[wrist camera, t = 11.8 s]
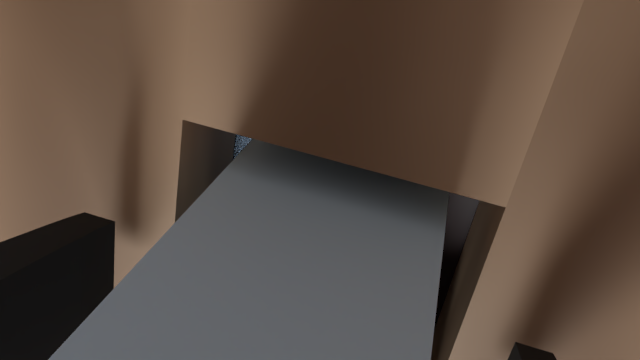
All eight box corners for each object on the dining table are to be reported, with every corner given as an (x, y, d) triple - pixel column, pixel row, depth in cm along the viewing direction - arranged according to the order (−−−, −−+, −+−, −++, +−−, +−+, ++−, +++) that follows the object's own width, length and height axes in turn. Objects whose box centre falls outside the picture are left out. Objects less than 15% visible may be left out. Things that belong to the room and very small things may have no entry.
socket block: (840, -28, 10) (970, 3, 7) (541, 506, 16) (552, 623, 14) (64, -186, 12) (-58, -208, 9) (73, 349, 18) (4, 426, 16)
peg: (452, 163, 13) (416, 493, 6) (405, 308, 15) (334, 689, 8) (275, 115, 13) (44, 364, 6) (250, 260, 15) (52, 577, 8)
